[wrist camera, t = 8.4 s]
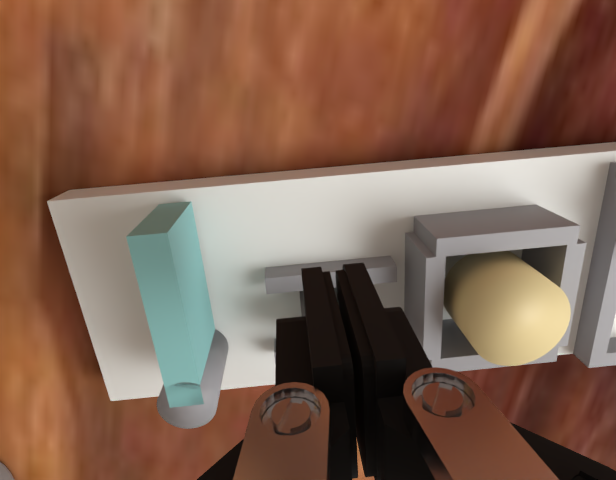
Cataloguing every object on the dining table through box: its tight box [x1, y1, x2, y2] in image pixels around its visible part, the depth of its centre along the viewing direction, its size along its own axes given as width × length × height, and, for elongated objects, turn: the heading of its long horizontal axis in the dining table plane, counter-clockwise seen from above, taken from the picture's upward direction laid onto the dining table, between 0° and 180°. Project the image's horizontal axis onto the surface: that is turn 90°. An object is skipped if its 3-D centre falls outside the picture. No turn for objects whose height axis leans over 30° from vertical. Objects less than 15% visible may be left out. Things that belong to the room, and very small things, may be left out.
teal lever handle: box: [126, 201, 229, 429], centre depth 17 cm, size 9×2×4 cm, turn 4°
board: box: [47, 142, 616, 401], centre depth 19 cm, size 11×33×6 cm, turn 94°
